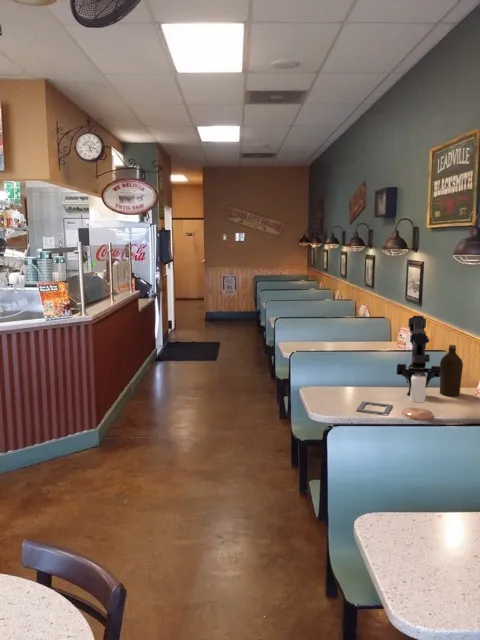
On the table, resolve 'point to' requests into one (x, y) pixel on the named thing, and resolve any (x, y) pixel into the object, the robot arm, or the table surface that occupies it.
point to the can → (418, 388)
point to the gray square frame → (374, 404)
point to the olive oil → (451, 373)
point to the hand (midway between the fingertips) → (418, 387)
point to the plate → (417, 413)
